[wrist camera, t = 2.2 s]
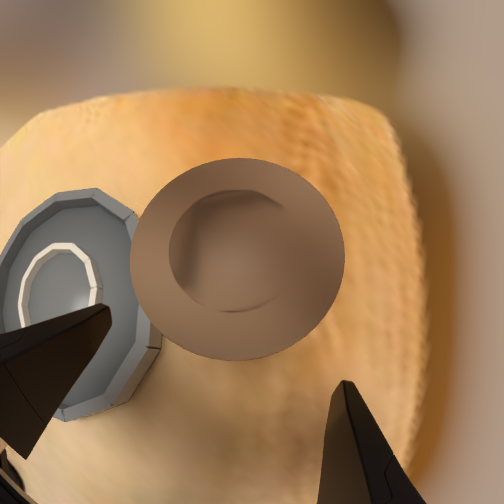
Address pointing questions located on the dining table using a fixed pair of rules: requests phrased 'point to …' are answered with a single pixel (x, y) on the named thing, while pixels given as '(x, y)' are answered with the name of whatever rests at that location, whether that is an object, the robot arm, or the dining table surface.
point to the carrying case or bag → (14, 476)
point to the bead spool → (237, 259)
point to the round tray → (81, 290)
